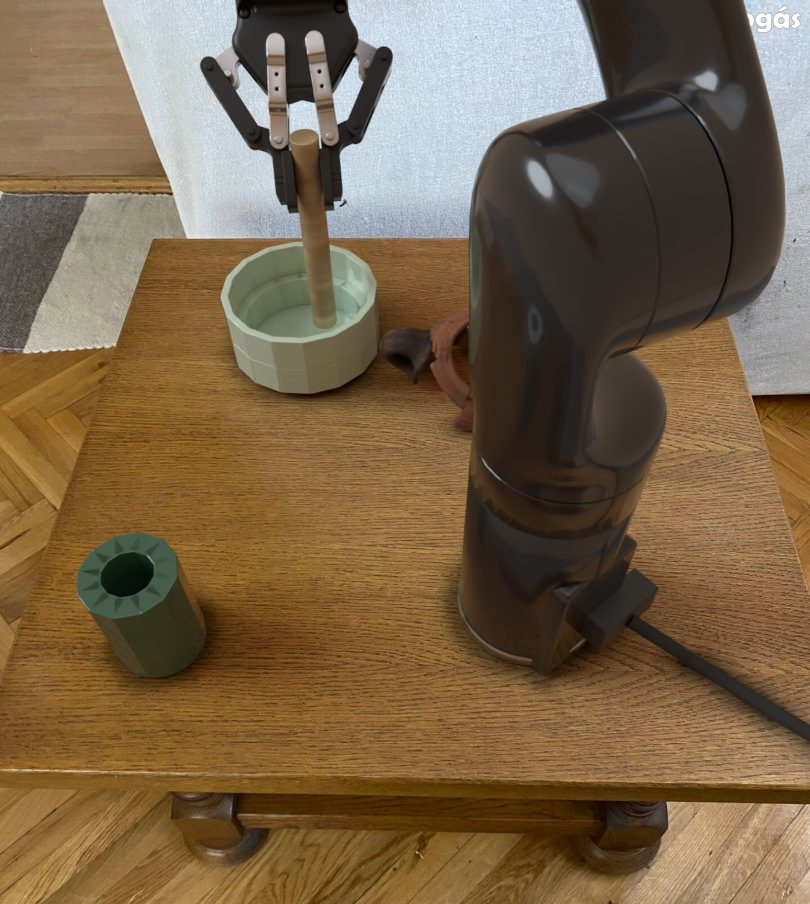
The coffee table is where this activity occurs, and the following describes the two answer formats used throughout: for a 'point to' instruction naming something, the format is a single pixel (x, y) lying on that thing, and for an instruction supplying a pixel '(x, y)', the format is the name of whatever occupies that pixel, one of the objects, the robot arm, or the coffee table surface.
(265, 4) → the robot arm
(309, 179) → the stick
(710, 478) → the coffee table surface
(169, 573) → the utensil pot
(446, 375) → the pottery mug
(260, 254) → the bowl
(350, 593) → the coffee table surface
